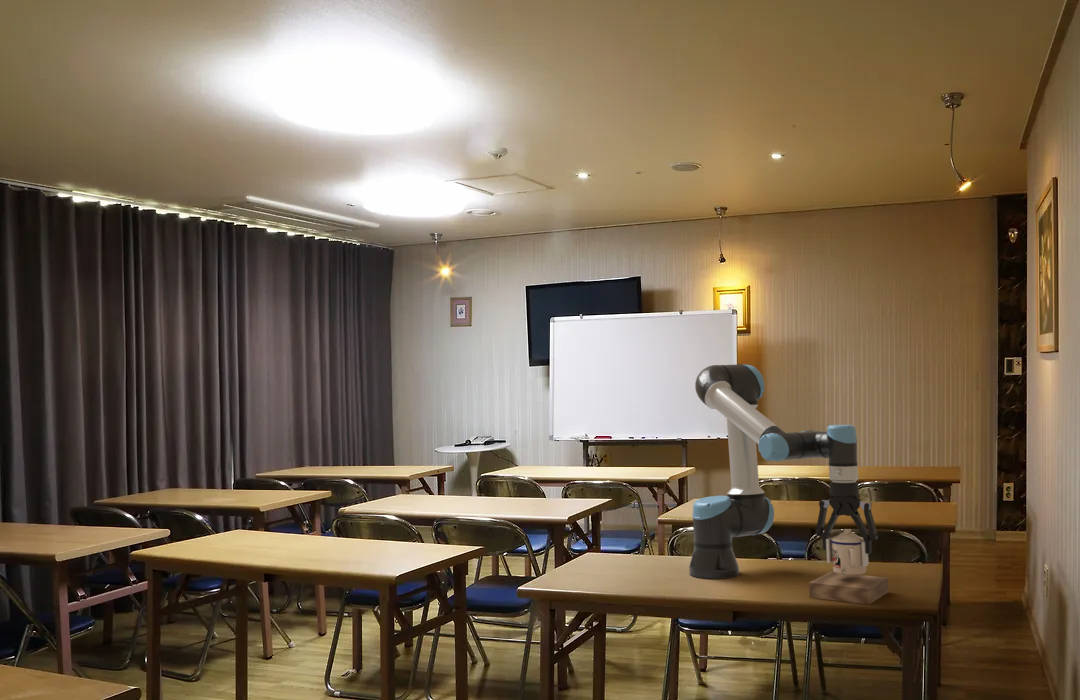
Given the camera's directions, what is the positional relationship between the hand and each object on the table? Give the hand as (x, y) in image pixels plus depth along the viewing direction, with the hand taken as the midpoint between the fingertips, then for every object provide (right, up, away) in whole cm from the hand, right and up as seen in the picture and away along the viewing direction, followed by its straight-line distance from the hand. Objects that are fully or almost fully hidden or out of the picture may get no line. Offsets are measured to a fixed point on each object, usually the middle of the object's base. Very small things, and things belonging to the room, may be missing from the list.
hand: (847, 563), depth 246 cm
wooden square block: (0, -8, 0) cm, 8 cm away
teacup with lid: (+1, -3, -1) cm, 3 cm away
